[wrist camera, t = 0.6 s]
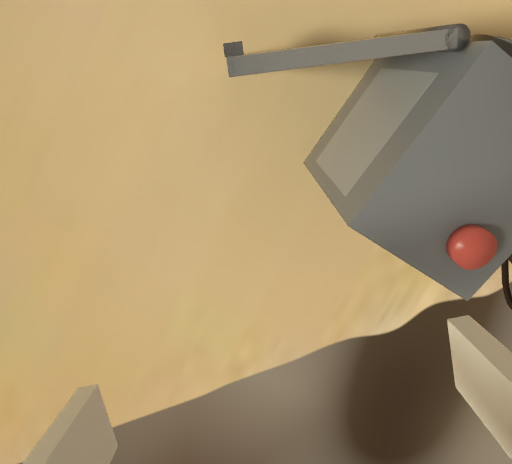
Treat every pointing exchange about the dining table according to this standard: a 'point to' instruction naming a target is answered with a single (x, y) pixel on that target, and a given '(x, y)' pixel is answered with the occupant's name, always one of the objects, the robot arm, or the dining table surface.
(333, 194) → the grey inset panel box
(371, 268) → the dining table surface
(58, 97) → the dining table surface
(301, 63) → the side door
